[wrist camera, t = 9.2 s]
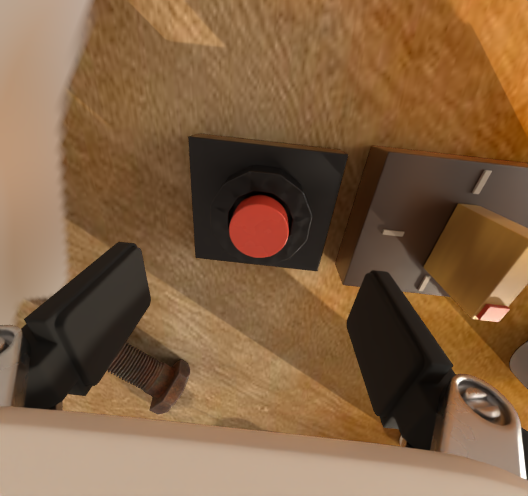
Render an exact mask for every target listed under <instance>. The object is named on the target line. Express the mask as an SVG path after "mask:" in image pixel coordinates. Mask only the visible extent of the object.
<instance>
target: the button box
mask: <svg viewBox="0 0 528 496" xmlns="http://www.w3.org/2000/svg"><path fill="white" fill-rule="evenodd" d="M188 139H189V156H190V173H191V190H192V206H193V223H194V240H195V257H196V258H202V259H211V260H220V261H229V262H238V263H247V264H256V265H266V266H275V267H284V268H293V269H302V270H311V271H318V267H319V264H320V260H321V256H322V252H323V248H324V245H325V241H326V237H327V233H328V230H329V226H330V222H331V218H332V214H333V211H334V207H335V203H336V199H337V196H338V192H339V188H340V184H341V181H342V177H343V173H344V169H345V165H346V162H347V158H348V154H346V153H345V152H343V151H341V150H339V149H331V148H322V147H313V146H304V145H296V144H287V143H278V142H269V141H260V140H252V139H243V138H234V137H225V136H217V135H208V134H195V135H192V136H189V137H188ZM254 195H265V196H269V197H272V198H274V199H275V200H277V201H278V202H279V203H280V204H281V205H282V206H283V207H284V209H285V211H286V213H287V218H288V228H289V235H288V239H287V242H286V244H285V245H284V247H283V248H282V249H281V250H280V251H279V252H277V253H276V254H274V255H272V256H269V257H264V258H256V257H251V256H248V255H245V254H244V253H242V252H241V251H239V250H238V249H237V248H236V247H235V246H234V244H233V243H232V241H231V238H230V235H229V225H230V221H231V219H232V216H233V214H234V212H235V210H236V208H237V206H238V205H239V204H240V203H241V202H242V201H243V200H244V199H246V198H248V197H250V196H254Z"/></svg>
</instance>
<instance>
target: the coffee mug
mask: <svg viewBox="0 0 528 496" xmlns="http://www.w3.org/2000/svg"><path fill="white" fill-rule="evenodd" d="M509 365H510V370H511V371H512V373H513V374H514V375H515V376H516V377H517V378H518V379H519V380H520V381H521V383H522V384H523V385H524V386H525V387H526V388H527V389H528V341H527V342H526V343H525V344H523V345H522V346H521V347H519V348H518V349H517V350H516V352H515V353H514V354H513V356H512V357H511V360H510V364H509Z"/></svg>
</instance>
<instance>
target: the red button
mask: <svg viewBox="0 0 528 496" xmlns="http://www.w3.org/2000/svg"><path fill="white" fill-rule="evenodd" d="M229 235H230V238H231V241H232V243H233V244H234V246H235V247H236V248H237V249H238V250H239V251H241V252H242V253H244V254H245V255H248V256H251V257H256V258H264V257H269V256H272V255H274V254H276V253H277V252H279V251H280V250H281V249H282V248H283V247H284V245H285V244H286V242H287V239H288V235H289V228H288V218H287V213H286V211H285V209H284V207H283V206H282V205H281V204H280V203H279V202H278V201H277V200H275V199H274V198H272V197H269V196H265V195H254V196H250V197H248V198H246V199H244V200H243V201H242V202H241V203H240V204H239V205H238V206H237V208H236V210H235V212H234V214H233V216H232V219H231V221H230V225H229Z"/></svg>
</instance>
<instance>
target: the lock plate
mask: <svg viewBox="0 0 528 496" xmlns="http://www.w3.org/2000/svg"><path fill="white" fill-rule="evenodd" d="M459 203H460V204H468V205H477V206H481V207H483V208H485V209H487V210H490V211H492V212H494V213H496V214H498V215H500V216H503V217H505V218H507V219H509V220H511V221H513V222H515V223H518V224H520V225H522V226H524V227H526V228H528V163H523V162H515V161H506V160H497V159H488V158H480V157H471V156H462V155H453V154H445V153H436V152H427V151H418V150H409V149H401V148H392V147H383V146H374V145H372V146H371V149H370V152H369V155H368V159H367V162H366V165H365V168H364V172H363V175H362V178H361V181H360V185H359V188H358V191H357V194H356V198H355V201H354V204H353V207H352V211H351V214H350V217H349V220H348V224H347V227H346V230H345V234H344V237H343V240H342V243H341V247H340V250H339V253H338V256H337V260H336V263H335V265H336V268H337V270H338V273H339V276H340V278H341V281H342V284H343V285H348V286H357V287H361V284H362V282H363V279H364V277H365V275H366V274H367V273H370V272H371V271H372V270H377V271H386V272H388V273H389V274H390V275H391V276H392V278H393V279H394V281H395V282H396V284H397V285H398V286H399V288H400V289H401V291H402V292H411V293H420V294H429V295H439V296H448V297H451V296H450V295H449V294H448V293H447V292H446V291H445V290H444V289H443V288H442V287H441V286H440V285H439V284H438V283H437V282H436V280H435V279H434V278H433V277H432V276H431V275H430V274H429V273H428V272H427V271H426V270H425V269H424V265H425V263H426V261H427V260H428V258H429V256H430V254H431V252H432V250H433V249H434V247H435V245H436V243H437V241H438V239H439V238H440V236H441V234H442V232H443V230H444V228H445V227H446V225H447V223H448V221H449V219H450V217H451V216H452V214H453V212H454V210H455V208H456V206H457V204H459Z"/></svg>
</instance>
